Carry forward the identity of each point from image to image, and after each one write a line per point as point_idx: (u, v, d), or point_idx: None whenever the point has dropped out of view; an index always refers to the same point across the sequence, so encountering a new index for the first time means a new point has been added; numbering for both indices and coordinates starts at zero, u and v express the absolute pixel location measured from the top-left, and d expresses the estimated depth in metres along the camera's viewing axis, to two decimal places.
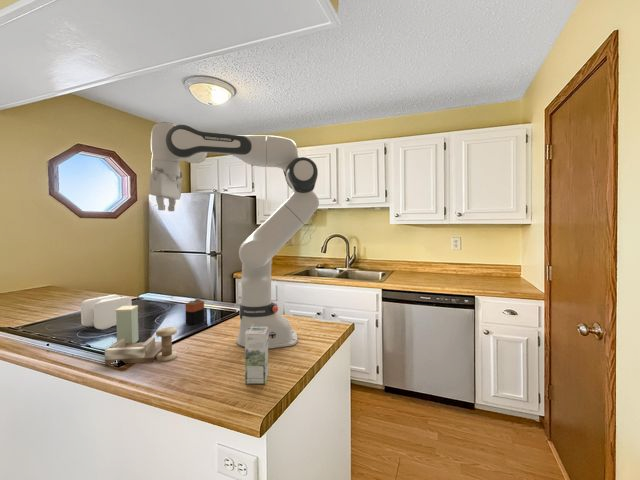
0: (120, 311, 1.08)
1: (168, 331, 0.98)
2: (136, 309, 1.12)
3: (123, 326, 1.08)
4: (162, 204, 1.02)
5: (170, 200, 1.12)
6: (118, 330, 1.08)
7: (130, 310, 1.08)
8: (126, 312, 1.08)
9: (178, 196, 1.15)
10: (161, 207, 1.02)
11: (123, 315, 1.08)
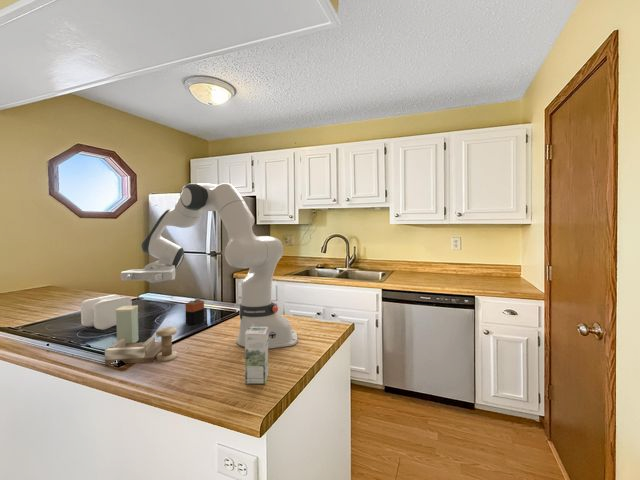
0: (120, 311, 1.08)
1: (168, 331, 0.98)
2: (136, 309, 1.12)
3: (123, 326, 1.08)
4: (128, 276, 1.23)
5: None
6: (118, 330, 1.08)
7: (130, 310, 1.08)
8: (126, 312, 1.08)
9: (165, 271, 1.28)
10: None
11: (123, 315, 1.08)
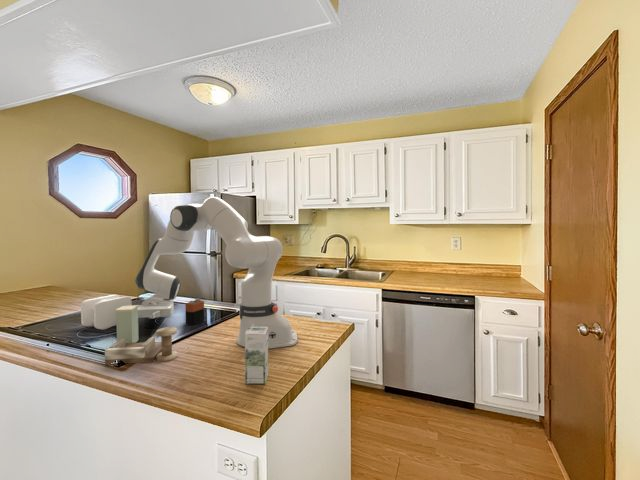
0: (120, 311, 1.08)
1: (168, 331, 0.98)
2: (136, 309, 1.12)
3: (123, 326, 1.08)
4: None
5: None
6: (118, 330, 1.08)
7: (130, 310, 1.08)
8: (126, 312, 1.08)
9: (163, 307, 1.26)
10: None
11: (123, 315, 1.08)
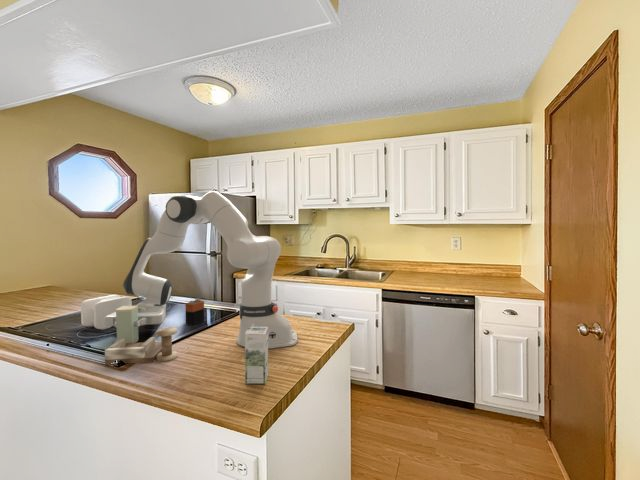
0: (120, 311, 1.08)
1: (168, 331, 0.98)
2: (136, 309, 1.12)
3: (123, 326, 1.08)
4: None
5: None
6: (118, 330, 1.08)
7: (130, 310, 1.08)
8: (126, 312, 1.08)
9: (153, 314, 1.16)
10: None
11: (123, 315, 1.08)
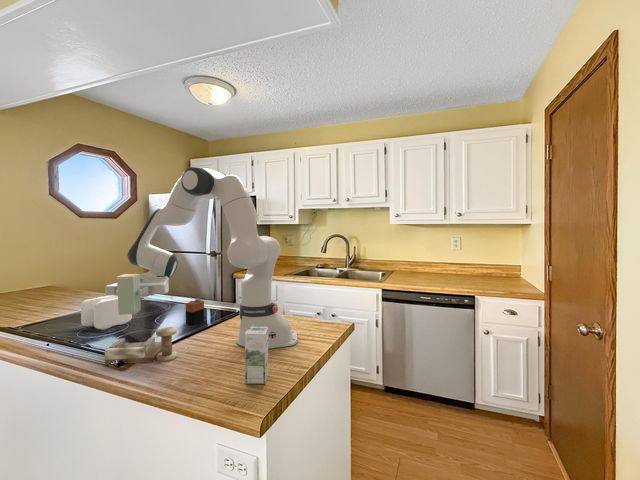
0: (121, 278, 1.03)
1: (168, 331, 0.98)
2: (138, 277, 1.08)
3: (124, 294, 1.04)
4: None
5: None
6: (119, 298, 1.04)
7: (132, 277, 1.04)
8: (127, 279, 1.04)
9: (156, 283, 1.12)
10: None
11: (124, 282, 1.04)
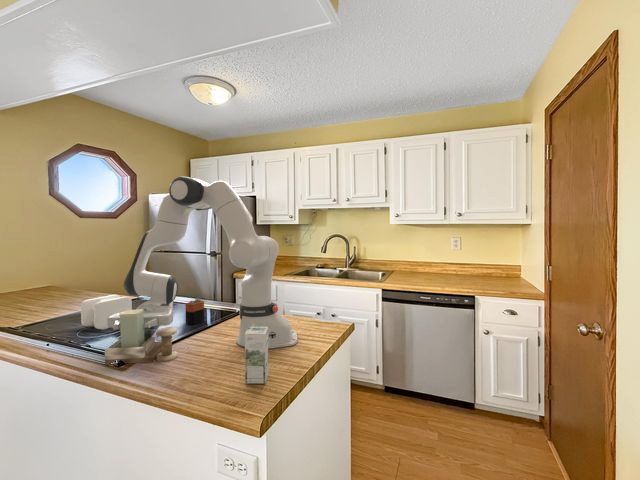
0: (124, 316, 0.98)
1: (168, 331, 0.98)
2: (142, 313, 1.02)
3: (127, 332, 0.98)
4: None
5: None
6: (122, 337, 0.98)
7: (135, 314, 0.98)
8: (131, 317, 0.98)
9: (161, 314, 1.06)
10: None
11: (128, 320, 0.98)
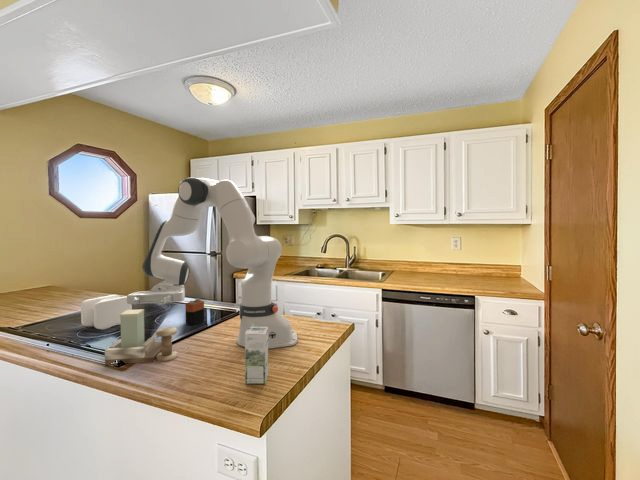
0: (125, 316, 0.98)
1: (168, 331, 0.98)
2: (142, 313, 1.02)
3: (128, 332, 0.98)
4: None
5: None
6: (122, 337, 0.98)
7: (136, 315, 0.98)
8: (131, 317, 0.98)
9: (174, 292, 1.19)
10: None
11: (128, 320, 0.98)
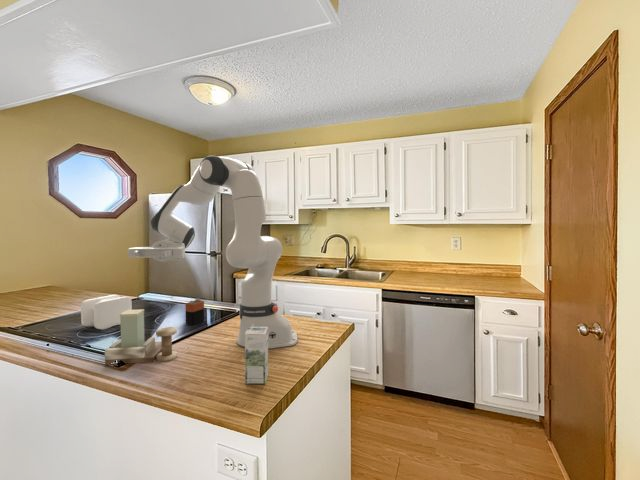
0: (125, 316, 0.98)
1: (168, 331, 0.98)
2: (142, 313, 1.02)
3: (128, 332, 0.98)
4: (135, 252, 1.15)
5: None
6: (122, 337, 0.98)
7: (136, 315, 0.98)
8: (131, 317, 0.98)
9: (174, 248, 1.21)
10: None
11: (128, 320, 0.98)
